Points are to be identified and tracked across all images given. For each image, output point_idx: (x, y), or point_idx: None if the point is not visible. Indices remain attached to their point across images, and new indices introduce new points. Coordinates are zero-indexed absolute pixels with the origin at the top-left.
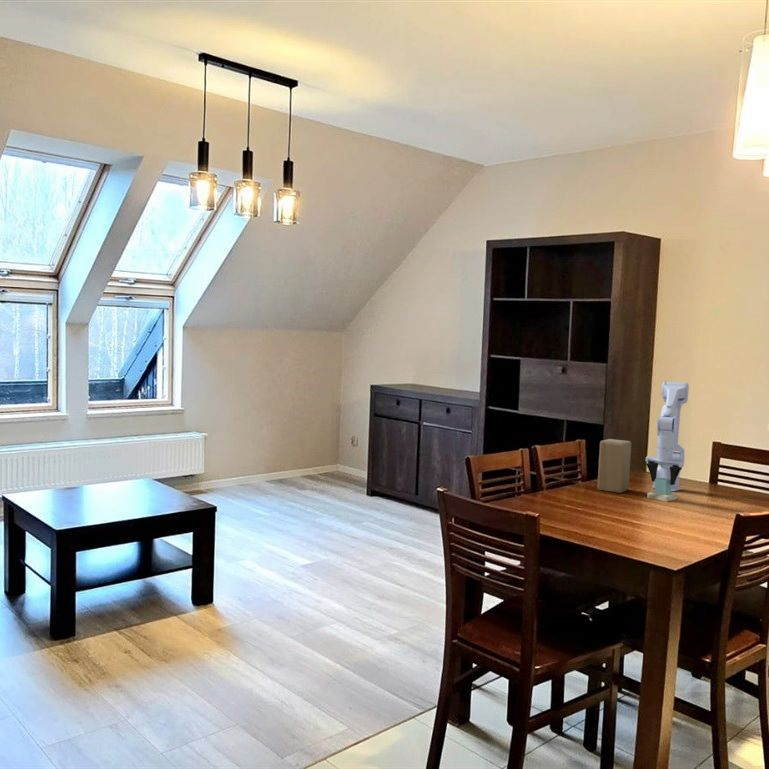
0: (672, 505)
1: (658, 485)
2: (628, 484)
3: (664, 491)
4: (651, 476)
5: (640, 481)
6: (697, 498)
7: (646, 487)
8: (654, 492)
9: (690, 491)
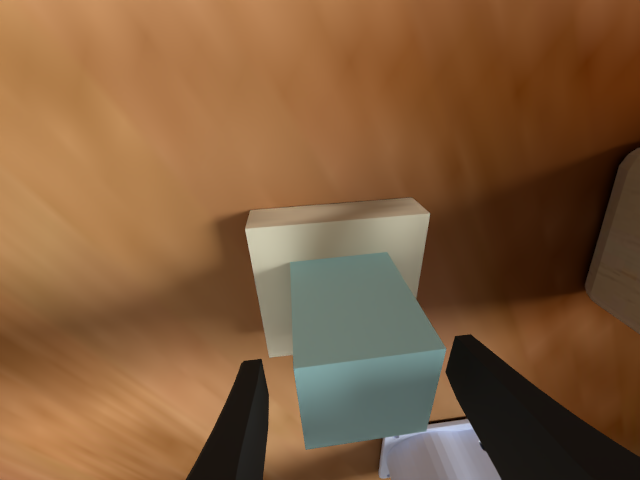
0: (116, 117)
1: (372, 302)
2: (618, 304)
3: (300, 279)
4: (513, 375)
5: None
6: None
7: None
8: (386, 255)
9: (342, 472)
